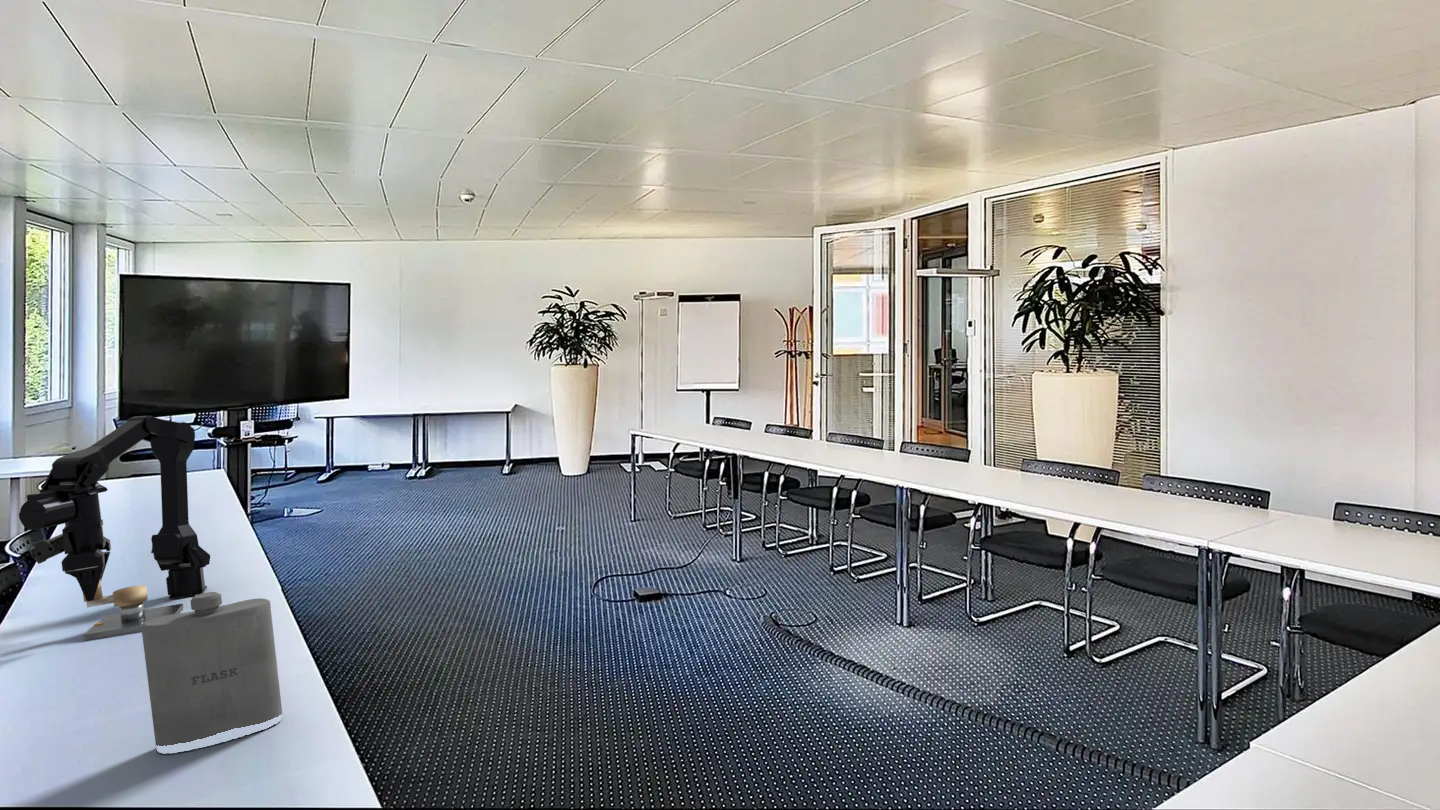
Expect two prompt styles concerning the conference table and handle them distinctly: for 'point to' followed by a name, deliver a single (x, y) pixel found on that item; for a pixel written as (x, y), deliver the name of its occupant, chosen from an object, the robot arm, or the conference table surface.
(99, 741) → the conference table surface
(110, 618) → the base
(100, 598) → the crank handle
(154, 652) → the flask
